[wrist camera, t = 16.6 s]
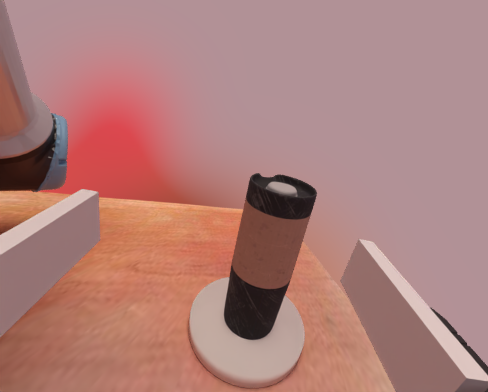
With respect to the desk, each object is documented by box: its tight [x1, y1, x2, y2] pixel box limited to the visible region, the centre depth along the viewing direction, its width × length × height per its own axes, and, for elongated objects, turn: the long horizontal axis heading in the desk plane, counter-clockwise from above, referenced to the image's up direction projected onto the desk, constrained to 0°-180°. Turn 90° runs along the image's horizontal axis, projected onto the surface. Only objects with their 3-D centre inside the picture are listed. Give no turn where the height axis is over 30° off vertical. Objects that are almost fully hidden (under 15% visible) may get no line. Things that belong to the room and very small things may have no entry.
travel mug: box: [224, 173, 317, 340], centre depth 30 cm, size 8×8×20 cm
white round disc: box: [189, 277, 305, 388], centre depth 34 cm, size 16×16×2 cm
